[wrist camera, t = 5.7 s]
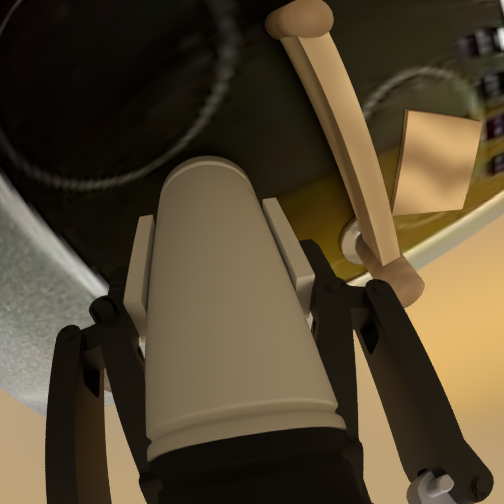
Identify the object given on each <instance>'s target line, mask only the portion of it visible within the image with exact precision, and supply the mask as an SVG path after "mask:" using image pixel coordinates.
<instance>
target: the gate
mask: <svg viewBox="0 0 504 504" xmlns="http://www.w3.org/2000/svg"><path fill="white" fill-rule="evenodd" d="M332 25H333V14H332V11H331V9H330V8H329V6H328V5H327V4H326V3H325V2H323V1H322V0H296V1H294V2H292V3H289V4H287V5H285V6H283V7H281V8H279V9H277V10H275V11H273V12H271V13H270V14H269V15H268V16H267V17H266V20H265V29H266V31H267V33H268V34H269V35H270V36H271V37H273V38H275V39H277V40H280V41H281V43H282V44H283V46H284V48H285V50H286V52H287V54H288V56H289V58H290V60H291V62H292V64H293V66H294V68H295V70H296V72H297V74H298V76H299V78H300V80H301V82H302V84H303V86H304V88H305V90H306V92H307V95H308V97H309V99H310V101H311V103H312V105H313V108H314V110H315V112H316V114H317V117H318V119H319V121H320V124H321V126H322V128H323V131H324V133H325V135H326V138H327V140H328V143H329V145H330V147H331V150H332V152H333V155H334V157H335V160H336V163H337V165H338V168H339V170H340V173H341V176H342V178H343V181H344V184H345V186H346V189H347V192H348V195H349V198H350V200H351V203H352V206H353V209H354V212H355V215H356V218H357V221H358V224H359V227H360V230H361V233H362V235H361V236H360V237H359V238H358V240H357V242H356V245H355V251H356V253H357V255H358V256H359V258H360V259H361V261H362V262H363V264H364V265H365V267H366V268H367V270H368V271H369V273H370V274H371V276H372V277H373V279H380V280H384V281H386V282H387V283H389V284H390V285H391V287H392V288H393V290H394V292H395V293H396V295H397V297H398V299H399V301H400V302H401V304H402V306H403V308H406V307H408V306H410V305H411V304H412V303H414V302H415V301H416V300H417V299H418V298H419V297H420V295H421V294H422V292H423V290H424V286H425V285H424V282H423V280H422V279H421V277H420V276H419V275H418V274H417V272H416V271H415V270H414V268H413V267H412V266H411V265H410V263H409V262H408V261H407V259H406V258H405V257H404V256H403V254H402V253H401V252H400V251H399V247H398V242H397V237H396V232H395V227H394V223H393V218H392V214H391V210H390V205H389V201H388V197H387V193H386V189H385V186H384V182H383V178H382V174H381V171H380V167H379V164H378V160H377V157H376V154H375V150H374V147H373V144H372V141H371V138H370V135H369V131H368V128H367V125H366V123H365V120H364V117H363V114H362V111H361V108H360V106H359V103H358V100H357V97H356V95H355V92H354V90H353V87H352V85H351V82H350V79H349V77H348V75H347V72H346V70H345V67H344V65H343V63H342V60H341V58H340V56H339V53H338V51H337V49H336V47H335V45H334V42H333V40H332V38H331V36H330V34H329V31H330V29H331V27H332Z"/></svg>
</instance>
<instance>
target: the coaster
mask: <svg viewBox="0 0 504 504" xmlns="http://www.w3.org/2000/svg"><path fill="white" fill-rule="evenodd" d="M481 127H482V122H480V121H477V120H472V119H467V118H462V117H456V116H450V115H444V114H438V113H431V112H423V111H415V110H406V109H405V114H404V123H403V132H402V139H401V147H400V154H399V160H398V167H397V173H396V179H395V184H394V190H393V195H392V200H391V205H390V210H391V214H392V216H396V215H406V214H416V213H426V212H437V211H447V210H458V209H462V208H463V204H464V201H465V197H466V194H467V190H468V186H469V183H470V179H471V175H472V171H473V166H474V162H475V158H476V153H477V148H478V143H479V138H480V132H481Z"/></svg>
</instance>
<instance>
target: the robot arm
mask: <svg viewBox="0 0 504 504" xmlns="http://www.w3.org/2000/svg"><path fill="white" fill-rule="evenodd" d="M263 214H264V216H265V219H266V221H267V224H268V226H269V228H270V231H271V233H272V236H273V238H274V241H275V243H276V245H277V248H278V250H279V253H280V255H281V258H282V260H283V263H284V265H285V267H286V270H287V272H288V275H289V277H290V280H291V282H292V285H293V287H294V290H295V292H296V295H297V297H298V300H299V302H300V305H301V307H302V310H303V312H304V315H305V318H309V314H310V311H311V314H312V316H313V321H312V327H311V333H312V335H313V338H314V341H315V343H316V346H317V349H318V351H319V355H320V358H321V361H322V363H323V366H324V369H325V371H326V374H327V376H328V379H329V382H330V384H331V387H332V390H333V393H334V395H335V398H336V401H337V403H338V407H337V408H336V410H335V414H337V415H339V416H341V417H342V418H343V420H344V422H345V425H346V428H347V429H345V430H344V431H345V432H346V434H347V438H348V442H347V445H346V447H345V448H344V449H342V457H343V458H344V459H347V460H349V461H350V463H351V466H352V469H353V472H354V475H355V479H356V482H357V485H358V488H359V490H360V493H361V496H362V500H363V447H362V443H361V442H360V441H359V436H358V403H357V382H356V366H355V352H354V339H353V330H355V332H356V334H357V337H358V339H359V342H360V345H361V347H362V350H363V352H364V355H365V358H366V360H367V363H368V366H369V368H370V371H371V374H372V377H373V379H374V382H375V385H376V388H377V391H378V393H379V396H380V399H381V402H382V405H383V408H384V411H385V414H386V417H387V419H388V423H389V426H390V429H391V432H392V435H393V438H394V441H395V444H396V448H397V451H398V454H399V458H400V461H401V463H402V466H403V469H404V471H405V473H406V475H407V477H408V479H409V481H410V482H411V484H410V486H409V488H408V490H407V496H406V497H407V500H408V503H409V504H474V503H477V502H480V501H483V500H484V499H485V498H487V496H489V494H490V492H491V491H492V488H493V484H494V482H493V476H492V474H491V472H490V470H489V469H488V468H487V467H486V466H485V464H484V463H483V462H482V461H481V459H480V458H479V457H478V456H477V454H476V453H475V452H474V451H473V450H472V448H471V447H470V446H469V445H468V444H467V443H466V441H465V440H464V438H463V436H462V433H461V430H460V428H459V425H458V423H457V420H456V418H455V415H454V413H453V410H452V408H451V405H450V403H449V401H448V398H447V396H446V394H445V392H444V389H443V387H442V385H441V382H440V380H439V378H438V376H437V374H436V371H435V369H434V367H433V365H432V363H431V361H430V359H429V357H428V355H427V353H426V351H425V348H424V346H423V344H422V343H421V340H420V338H419V336H418V334H417V332H416V331H415V329H414V327H413V325H412V323H411V321H410V319H409V317H408V315H407V314H406V312H405V310H404V308H403V306H402V304H401V302H400V301H399V299H398V297H397V295H396V293H395V292H394V290H393V288H392V287H391V285H390V284H389V283H387V282H386V281H384V280H380V279H372V280H369V281H368V282H367V283H366V286H365V287H358V286H349V285H347V284H346V282H345V281H344V280H343V279H341V278H339V277H336V275H335V273H334V272H333V270H332V268H331V266H330V264H329V263H328V261H327V259H326V258H325V256H324V254H323V253H322V250H321V249H320V247H319V245H318V244H317V243H315V242H314V241H313V240H311V239H309V240H302V241H298V240H297V238H296V236H295V234H294V232H293V230H292V228H291V226H290V224H289V222H288V220H287V219H286V217H285V215H284V213H283V211H282V209H281V207H280V205H279V203H278V201H277V199H276V198H270V199H263ZM155 229H156V227H155V223H154V219H153V215H148V216H142V217H139V222H138V226H137V231H136V235H135V240H134V245H133V250H132V255H131V260H130V266H126V267H119V268H117V269H116V270H115V272H114V273H113V274H112V277H111V282H110V286H109V291H108V295H105V296H101V297H99V298H97V299H95V300H94V301H93V302H92V304H91V305H90V307H89V313H90V315H91V317H92V318H93V320H94V322H95V323H96V324H94V325H92V326H90V327H87V328H85V329H82V330H80V328H79V327H78V326H76V325H68V326H66V327H64V328H63V329H61V330H60V332H59V333H58V335H57V338H56V343H55V349H54V355H53V361H52V368H51V376H50V384H49V393H48V404H47V418H46V419H47V420H46V439H45V473H46V475H45V477H46V496H47V504H112V502H111V495H110V487H109V479H108V469H107V457H106V444H105V443H106V442H105V423H104V421H105V420H104V368H106V372H107V376H108V380H109V384H110V387H111V391H112V395H113V398H114V402H115V405H116V408H117V412H118V415H119V418H120V421H121V425H122V427H123V431H124V433H125V436H126V439H127V442H128V445H129V448H130V450H131V453H132V456H133V458H134V461H135V464H136V466H137V469H138V471H139V475H140V477H139V485H140V488H141V491H142V493H143V496H144V498H145V500H146V502H147V504H159V501H158V492H159V491H160V490H161V489H162V482H161V480H159V479H156V478H155V477H154V476H153V475H152V474H151V471H150V462H151V461H148V460H147V449H148V447H149V445H150V444H151V443H152V441H151V440H150V439H149V438H147V436H146V383H145V358H144V355H143V353H142V350H141V348H140V346H139V337H140V339H141V341H142V343H146V325H147V309H148V296H149V284H150V273H151V263H152V254H153V245H154V237H155ZM371 504H374V503H372V502H371Z"/></svg>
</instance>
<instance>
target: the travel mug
mask: <svg viewBox="0 0 504 504" xmlns="http://www.w3.org/2000/svg"><path fill="white" fill-rule="evenodd" d="M145 383H146V436H147V438H149V439H150V440H151V441H152V443H151V444H150V445H149V447H148V449H147V460H148V461H151V462H150V471H151V474H152V475H153V476H154V477H155V478H156V479H159V480H161V482H162V489H161V490H160V491H159V492H158V501H159V504H371V500H370V497H369V494H368V491H367V488H366V485H365V482H364V480H363V500H362V496H361V493H360V490H359V488H358V485H357V482H356V479H355V475H354V472H353V469H352V466H351V463H350V461H349V460H347V459H344V458H343V457H342V449H344V448H345V447H346V445H347V442H348V438H347V434H346V432H345V431H344V430H345V429H347V428H346V425H345V422H344V420H343V418H342V417H341V416H339V415H337V414H335V410H336V408H337V407H338V403H337V401H336V398H335V395H334V393H333V390H332V387H331V384H330V382H329V379H328V376H327V374H326V371H325V369H324V366H323V363H322V361H321V358H320V355H319V351H318V349H317V346H316V343H315V341H314V338H313V335H312V333H311V330H310V328H309V325H308V323H307V320H306V318H305V315H304V312H303V310H302V307H301V305H300V302H299V300H298V297H297V295H296V292H295V290H294V287H293V285H292V282H291V280H290V277H289V275H288V272H287V270H286V267H285V265H284V263H283V260H282V258H281V255H280V253H279V250H278V248H277V245H276V243H275V241H274V238H273V236H272V233H271V231H270V228H269V226H268V224H267V221H266V219H265V216H264V214H263V212H262V209H261V207H260V205H259V202H258V200H257V197H256V195H255V193H254V190H253V188H252V186H251V183H250V181H249V179H248V177H247V175H246V174H245V172H244V171H243V170H242V169H241V168H240V167H239V166H238V165H236V164H235V163H233V162H231V161H230V160H227V159H224V158H221V157H217V156H199V157H195V158H192V159H189V160H187V161H185V162H183V163H181V164H180V165H178V166H177V167H176V168H174V169H173V170H172V172H171V173H170V174H169V175H168V176H167V178H166V180H165V182H164V183H163V187H162V190H161V195H160V202H159V208H158V215H157V222H156V229H155V237H154V245H153V254H152V263H151V273H150V284H149V296H148V309H147V325H146V345H145Z"/></svg>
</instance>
